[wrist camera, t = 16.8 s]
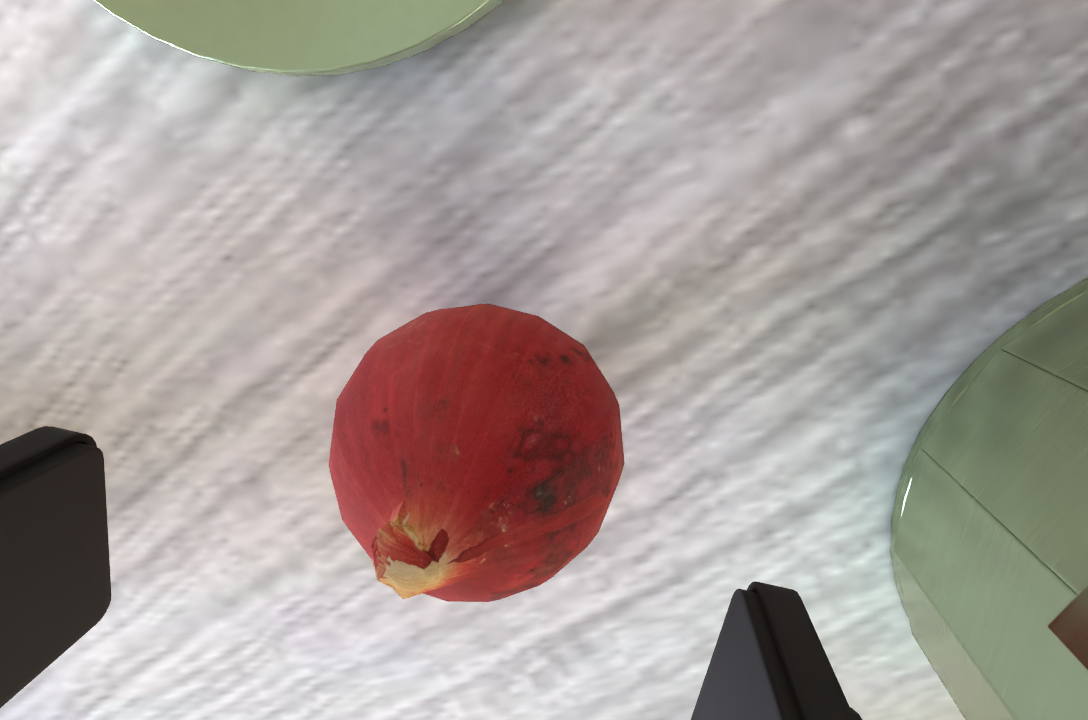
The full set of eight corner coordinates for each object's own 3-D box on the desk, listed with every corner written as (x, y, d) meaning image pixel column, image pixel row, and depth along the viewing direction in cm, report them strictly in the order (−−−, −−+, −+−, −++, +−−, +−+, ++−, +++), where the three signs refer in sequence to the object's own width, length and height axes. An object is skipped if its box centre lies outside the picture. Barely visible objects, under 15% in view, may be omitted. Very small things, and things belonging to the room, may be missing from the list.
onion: (608, 261, 15) (600, 365, 7) (631, 472, 16) (644, 738, 9) (383, 289, 16) (162, 407, 8) (426, 486, 17) (277, 739, 10)
